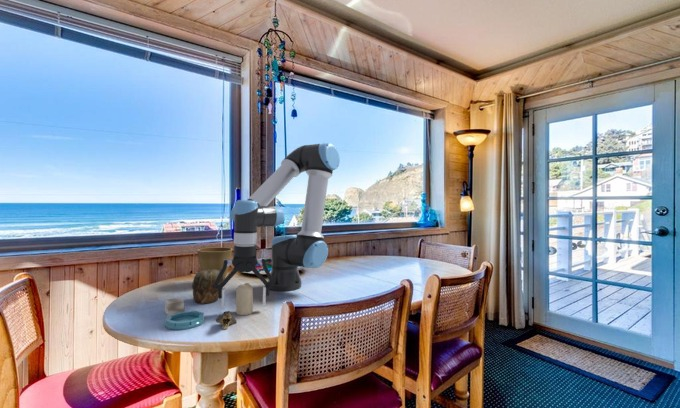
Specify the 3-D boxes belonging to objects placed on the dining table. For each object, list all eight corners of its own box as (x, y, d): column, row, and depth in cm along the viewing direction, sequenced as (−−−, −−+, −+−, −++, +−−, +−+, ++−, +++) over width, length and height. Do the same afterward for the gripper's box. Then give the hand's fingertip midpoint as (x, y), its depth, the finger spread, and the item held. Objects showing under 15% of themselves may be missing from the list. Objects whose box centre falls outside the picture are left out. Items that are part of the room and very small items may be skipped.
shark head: (236, 334, 98) (240, 312, 97) (213, 333, 96) (217, 310, 95) (236, 322, 105) (240, 301, 105) (215, 320, 103) (219, 300, 103)
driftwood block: (180, 308, 116) (180, 297, 116) (184, 312, 112) (184, 301, 112) (164, 311, 113) (164, 300, 113) (167, 315, 109) (168, 303, 109)
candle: (246, 308, 117) (246, 281, 117) (255, 312, 114) (256, 283, 113) (232, 312, 113) (233, 283, 113) (242, 316, 109) (242, 286, 109)
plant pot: (231, 287, 144) (231, 251, 144) (194, 289, 140) (194, 252, 140) (232, 279, 159) (233, 246, 158) (199, 280, 155) (200, 247, 154)
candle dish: (205, 315, 110) (205, 309, 110) (202, 327, 99) (202, 321, 99) (169, 318, 106) (169, 312, 106) (161, 331, 96) (161, 324, 96)
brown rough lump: (212, 306, 119) (213, 273, 119) (185, 304, 121) (186, 271, 121) (228, 297, 130) (228, 267, 129) (203, 295, 132) (204, 265, 132)
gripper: (280, 243, 120) (278, 300, 120) (207, 244, 113) (205, 305, 113) (283, 245, 113) (281, 307, 113) (205, 247, 105) (203, 312, 105)
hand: (243, 306), depth 113 cm, fingers open, 13 cm apart
